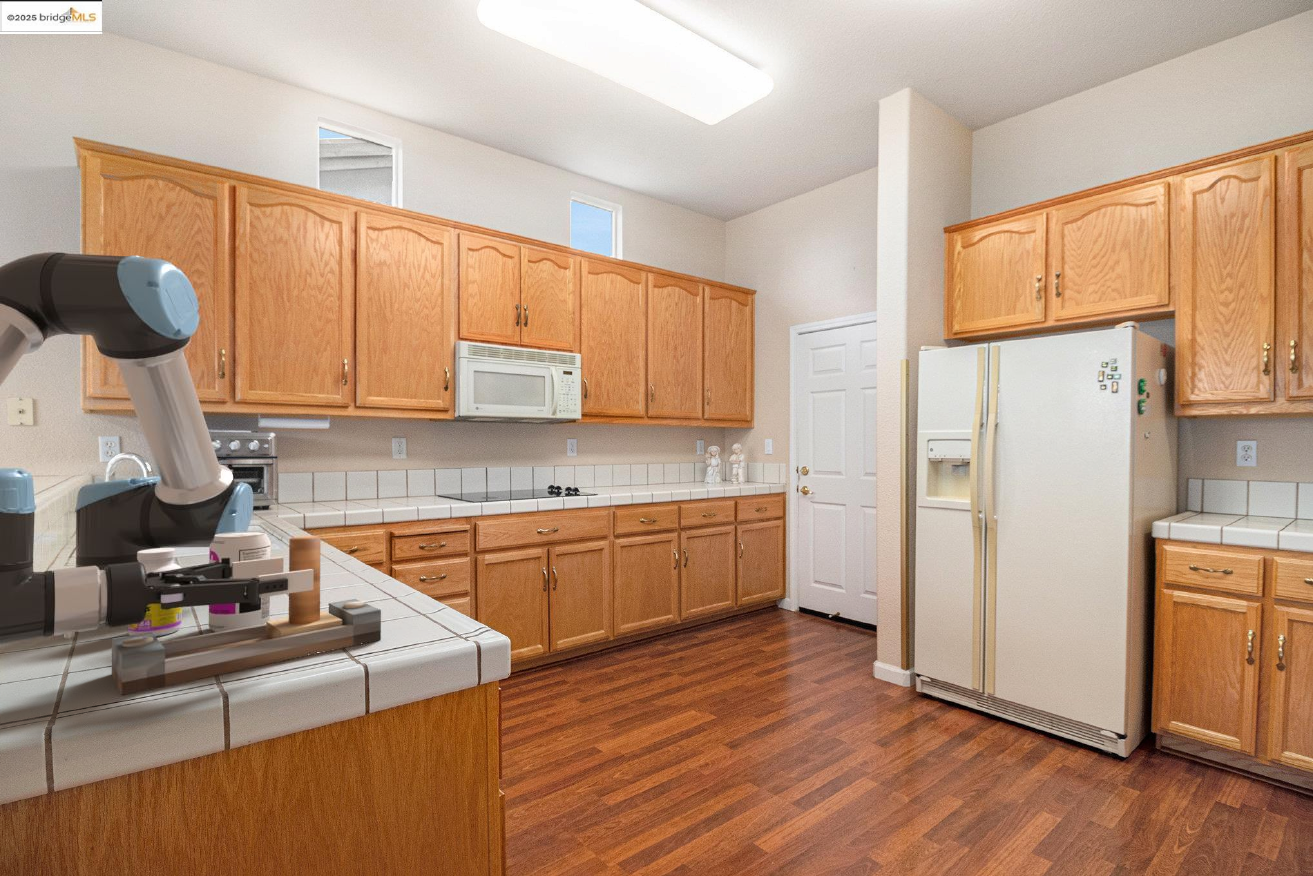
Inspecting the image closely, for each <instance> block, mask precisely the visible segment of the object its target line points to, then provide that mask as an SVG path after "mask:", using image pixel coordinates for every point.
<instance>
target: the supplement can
mask: <svg viewBox="0 0 1313 876" xmlns="http://www.w3.org/2000/svg"><path fill="white" fill-rule="evenodd" d="M208 552H209V557H208V558H209V563H214V562H217V561H219V562H221V558H230V566H232V562H241V561H250V560H259V559H268V558H271V540H270V538H269V537H268V535H267V531H263V530H261V531H260V530H247V531H242V532H229V533H222V534H217V535H215V537H214V539H213V541H212V543H211V544H210V547H209V551H208ZM230 579H232V577H230ZM270 611H271V596H267V597H260V598H259V604H257V605H251V603H249V602H248V603H233V604H218V605H208V628H209V629H211V630H212V631H213V633H215V632H221V631H227V630H233V629H238V628H244V627H250V626H256V625H262V624H265V623H266V621H270V620H271V619H270V618H271V616H270V615H271V612H270Z"/></svg>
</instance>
